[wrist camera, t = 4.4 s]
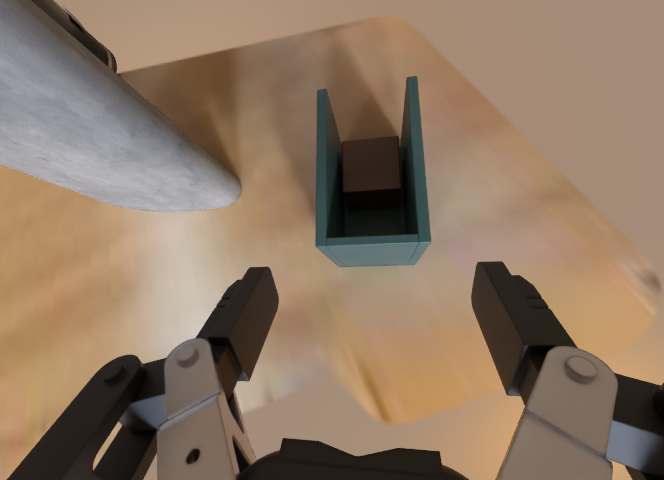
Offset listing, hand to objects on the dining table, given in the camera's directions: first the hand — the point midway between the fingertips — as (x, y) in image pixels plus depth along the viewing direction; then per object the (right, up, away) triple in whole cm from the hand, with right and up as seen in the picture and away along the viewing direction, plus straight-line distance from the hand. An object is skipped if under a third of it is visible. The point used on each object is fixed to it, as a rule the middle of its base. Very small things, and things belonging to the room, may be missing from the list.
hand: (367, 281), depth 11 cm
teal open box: (+2, +4, +12) cm, 13 cm away
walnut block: (+2, +6, +12) cm, 14 cm away
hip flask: (-18, +6, +17) cm, 25 cm away
